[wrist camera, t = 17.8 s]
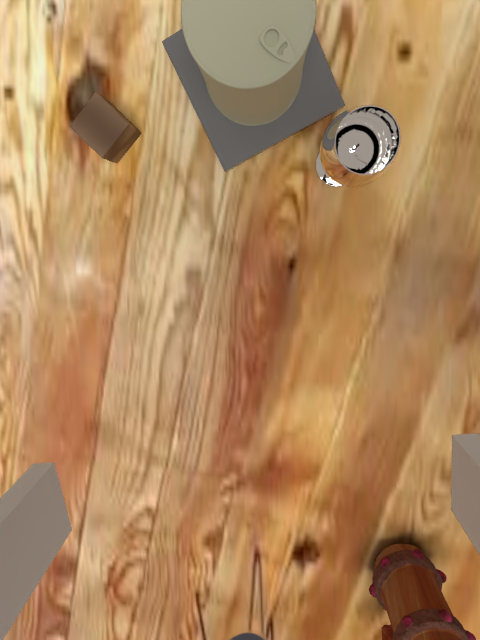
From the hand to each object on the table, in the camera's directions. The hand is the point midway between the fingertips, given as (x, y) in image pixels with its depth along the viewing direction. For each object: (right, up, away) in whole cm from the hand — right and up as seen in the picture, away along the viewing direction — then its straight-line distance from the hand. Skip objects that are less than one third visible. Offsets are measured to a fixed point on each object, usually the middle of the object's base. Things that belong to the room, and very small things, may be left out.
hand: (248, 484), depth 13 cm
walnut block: (-13, +25, +28) cm, 39 cm away
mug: (+20, -28, +39) cm, 52 cm away
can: (+1, +29, +25) cm, 38 cm away
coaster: (+1, +29, +25) cm, 39 cm away
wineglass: (+10, +21, +27) cm, 36 cm away
